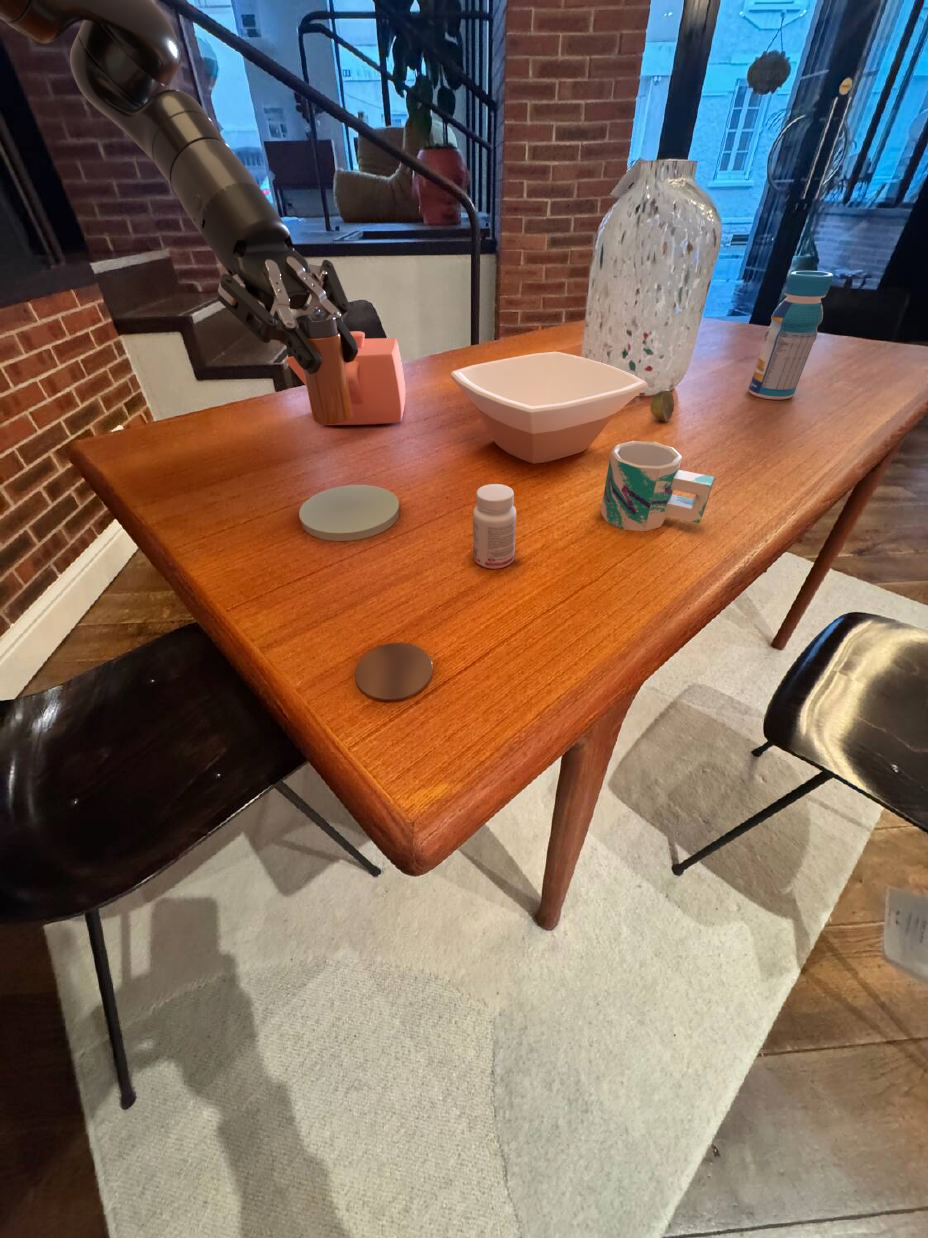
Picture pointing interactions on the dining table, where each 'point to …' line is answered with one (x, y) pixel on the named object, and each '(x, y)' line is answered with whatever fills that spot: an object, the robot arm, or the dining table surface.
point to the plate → (349, 512)
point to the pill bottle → (494, 526)
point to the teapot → (372, 381)
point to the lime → (662, 405)
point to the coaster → (393, 672)
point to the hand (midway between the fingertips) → (334, 362)
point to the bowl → (546, 401)
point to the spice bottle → (326, 370)
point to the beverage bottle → (790, 336)
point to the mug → (651, 487)
